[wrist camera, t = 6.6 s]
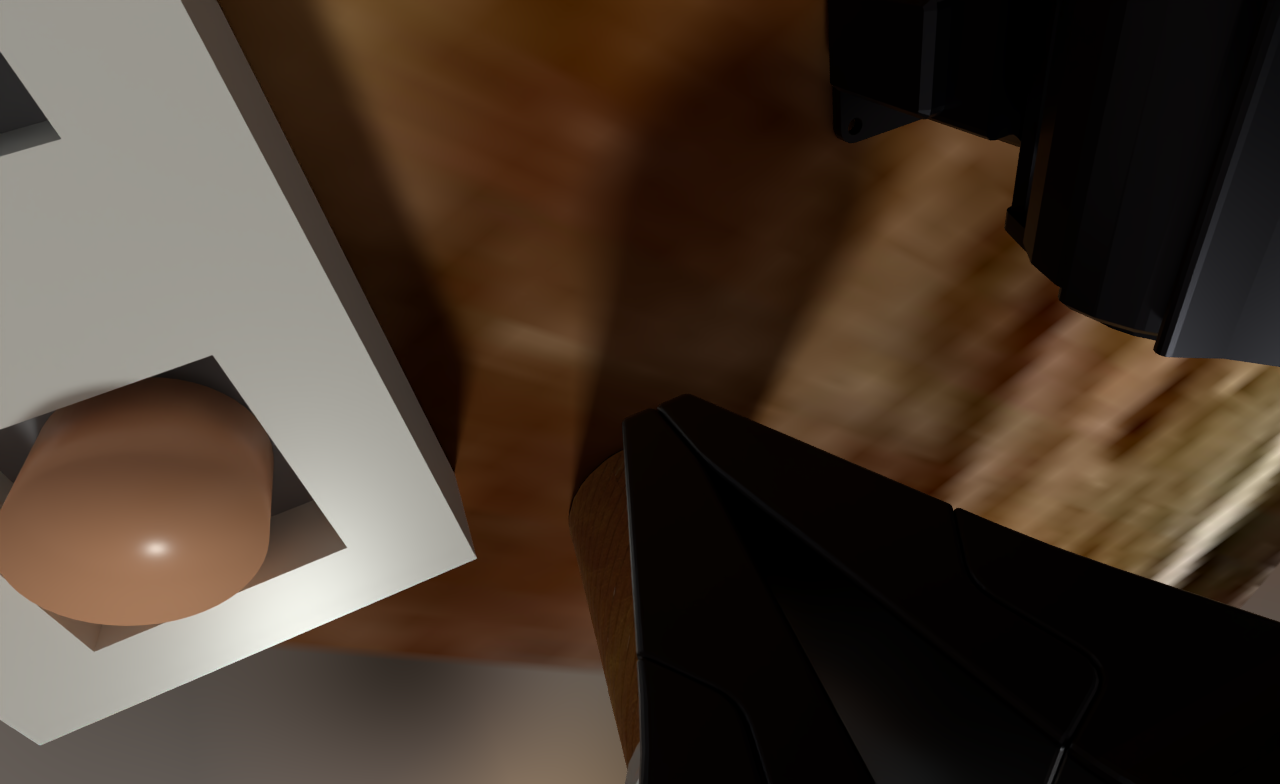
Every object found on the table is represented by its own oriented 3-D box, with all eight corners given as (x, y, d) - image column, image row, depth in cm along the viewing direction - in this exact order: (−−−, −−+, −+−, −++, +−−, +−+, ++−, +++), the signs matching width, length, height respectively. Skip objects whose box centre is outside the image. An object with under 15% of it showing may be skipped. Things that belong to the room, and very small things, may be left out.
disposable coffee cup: (609, 367, 24) (801, 659, 15) (794, 439, 29) (1019, 685, 20) (481, 572, 27) (573, 924, 17) (671, 603, 32) (818, 885, 23)
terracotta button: (207, 347, 17) (191, 417, 14) (308, 491, 20) (308, 568, 18) (-21, 426, 16) (-77, 515, 14) (121, 564, 19) (96, 656, 17)
